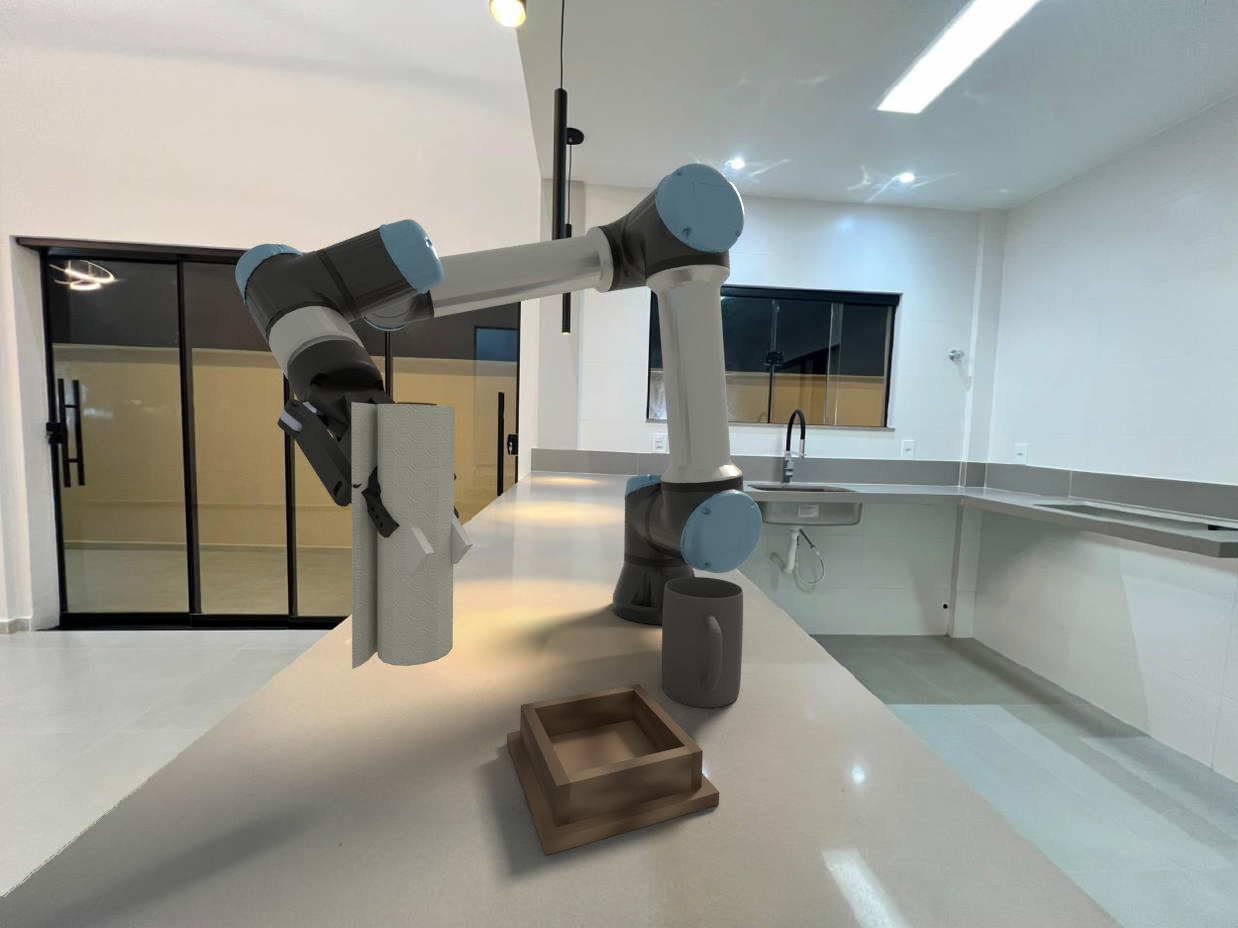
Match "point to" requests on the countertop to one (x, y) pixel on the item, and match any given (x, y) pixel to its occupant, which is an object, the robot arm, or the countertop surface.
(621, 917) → the countertop surface
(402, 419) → the paper towel roll
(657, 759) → the wooden tray
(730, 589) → the mug
